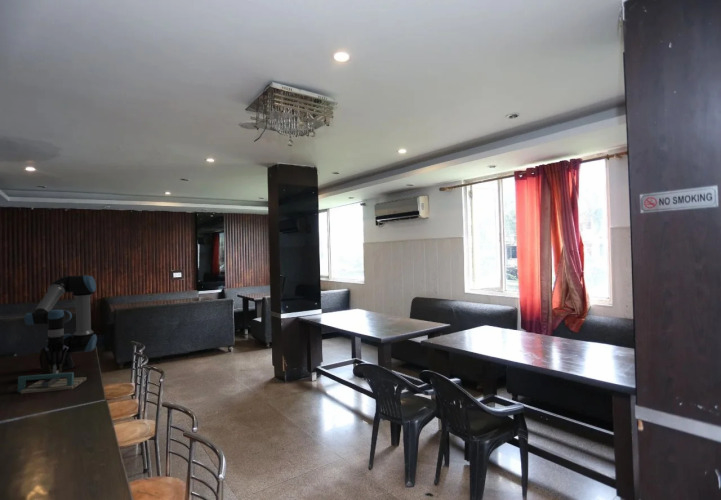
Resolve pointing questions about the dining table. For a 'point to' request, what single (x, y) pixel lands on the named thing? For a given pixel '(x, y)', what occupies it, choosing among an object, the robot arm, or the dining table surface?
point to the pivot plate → (52, 386)
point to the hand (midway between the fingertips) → (55, 375)
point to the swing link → (49, 382)
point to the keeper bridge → (44, 376)
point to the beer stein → (44, 366)
